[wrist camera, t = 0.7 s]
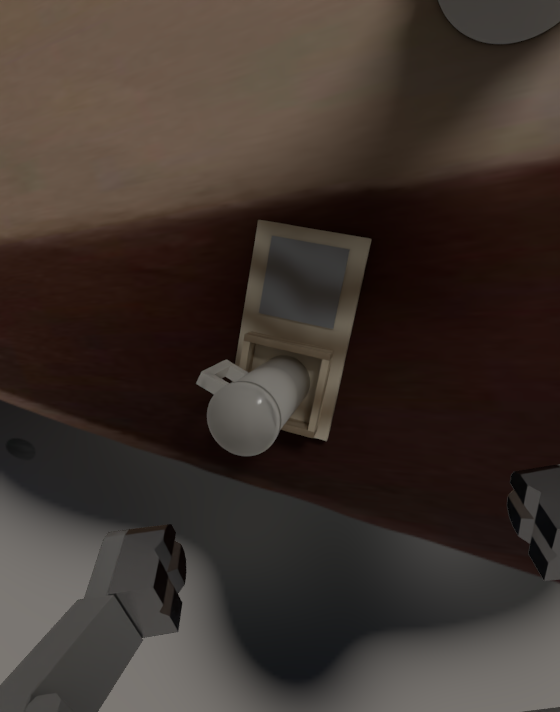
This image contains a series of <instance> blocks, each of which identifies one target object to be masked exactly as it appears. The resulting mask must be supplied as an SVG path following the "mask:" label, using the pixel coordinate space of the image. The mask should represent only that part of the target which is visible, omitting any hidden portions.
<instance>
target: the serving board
mask: <svg viewBox="0 0 560 712" xmlns="http://www.w3.org/2000/svg"><path fill="white" fill-rule="evenodd" d="M371 240H372V239H369V238H364V237H358V236H352V235H346V234H340V233H334V232H328V231H323V230H317V229H311V228H305V227H299V226H293V225H288V224H282V223H276V222H270V221H264V220H258V225H257V231H256V237H255V243H254V249H253V256H252V262H251V268H250V274H249V280H248V287H247V293H246V299H245V305H244V311H243V318H242V324H241V330H240V336H239V342H238V349H237V355H236V361H235V365H237V366H238V367H240V368H242V369H243V370H245V371H247V372H248V373H249V372H251V371H252V370H254V369H255V368H257V367H258V366H260V365H262V364H263V363H265V362H266V361H268V360H269V359H271V358H273V357H275V356H279V355H287V356H291V357H294V358H296V359H297V360H299V361H300V362H301V363H302V364H303V365H304V366H305V367H306V369H307V371H308V373H309V376H310V389H309V392H308V394H307V396H306V397H305V399H304V400H303V401H302V403H301V404H300V405H299V406H298V408H297V409H296V410H295V412H294V413H293V414H292V415H291V417H290V418H289V419H288V421H287V422H286V423H285V424H284V426H283V427H282V428H281V430H284V431H287V432H291V433H295V434H298V435H302V436H306V437H309V438H317V439H321V440H324V441H327V439H328V436H329V432H330V427H331V423H332V418H333V414H334V409H335V404H336V400H337V395H338V391H339V386H340V382H341V377H342V372H343V368H344V363H345V359H346V354H347V350H348V345H349V341H350V336H351V331H352V327H353V322H354V318H355V313H356V309H357V304H358V299H359V295H360V290H361V286H362V281H363V277H364V272H365V267H366V263H367V258H368V254H369V249H370V245H371ZM232 382H233V381H232Z"/></svg>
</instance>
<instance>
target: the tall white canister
mask: <svg viewBox="0 0 560 712" xmlns="http://www.w3.org/2000/svg"><path fill="white" fill-rule="evenodd" d="M224 377H227V378H228V379H230V380H232V381H233V382H232V383H228V382H226V381H224V380H223V379H222V378H224ZM196 384H197V385H199V386H201V387H202V388H204V389H206V390H207V391H209V392H211V393H212V394H214V396H213V397H212V399H211V400H210V403H209V405H208V409H207V423H208V427H209V430H210V432H211V434H212V436H213V438H214V439H215V440H216V442H217V443H218V444H219V445H220V446H221V447H222V448H224V449H225V450H227V451H229V452H230V453H233V454H235V455H239V456H254V455H258V454H260V453H262V452H264V451H265V450H267V449H268V448H269V447H270V446H271V445H272V444H273V442H274V441H275V440H276V438H277V436H278V434H279V432H280V430H281V428H282V427H283V426H284V424H285V423H286V422H287V421H288V419H289V418H290V417H291V415H292V414H293V413H294V412H295V410H296V409H297V408H298V406H299V405H300V404H301V403H302V401H303V400H304V399H305V397H306V396H307V394H308V392H309V389H310V376H309V373H308V371H307V369H306V367H305V366H304V365H303V364H302V363H301V362H300V361H299V360H297V359H296V358H294V357H291V356H287V355H279V356H275V357H273V358H271V359H269V360H268V361H266V362H265V363H263V364H262V365H260V366H258V367H257V368H255V369H254V370H252V371H251V372H249V373H248V372H247V371H245V370H243V369H242V368H240V367H238V366H237V365H235V364H233V363H231V362H230V361H228V360H224V361H222V362H220V363H218V364H216V365H214V366H212V367H210V368H208V369H206V370H204V371H202V372H201V374H200V376H199V378H198V380H197V382H196Z"/></svg>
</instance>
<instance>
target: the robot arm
mask: <svg viewBox="0 0 560 712" xmlns="http://www.w3.org/2000/svg"><path fill="white" fill-rule="evenodd" d="M438 2H439V5H440V7H441V9H442V11H443V13H444V15H445V16H446V18H447V19H448V20H449V22H450V23H451V24H452V25H453V26H454V27H455V28H456V29H457V30H459V31H460V32H461V33H463V34H464V35H466V36H468V37H470V38H472V39H474V40H477V41H480V42H484V43H490V44H509V43H515V42H520V41H524V40H527V39H530V38H532V37H535V36H537V35H539V34H541V33H543V32H545V31H547V30H548V29H550V28H552V27H553V26H555V25H556V24H557V23H559V22H560V0H438ZM510 484H511V485H512V487H513V488H514V490H513V491H512V492H511V493H510V494H509V495H508V500H507V508H508V513H509V518H510V520H511V523H512V525H513V527H514V529H515V531H516V533H517V535H518V536H519V537H520V538H522V539H523V540H525V541H527V542H528V543H530V547H529V553H528V554H529V556H530V557H531V559H532V561H533V563H534V564H535V566H536V568H537V570H538V571H539V573H540V575H541V576H542V578H543V580H544V581H548V580H557V579H560V464H559V465H550V466H544V467H538V468H532V469H526V470H519V471H514V472H513V474H512V475H511V479H510ZM175 534H176V532H175V530H174V529H173V527H172V525H171V524H169V525H161V526H153V527H145V528H136V529H129V530H122V531H114V532H109V533H108V534H107V535H106V537H105V538H104V540H103V543H102V545H101V549H100V552H99V555H98V558H97V561H96V564H95V567H94V570H93V573H92V576H91V579H90V582H89V585H88V588H87V591H86V594H85V597H84V599H80V600H77V601H76V603H74V605H73V606H72V607H71V608H70V609H69V610H68V611H67V612H66V613H65V614H64V616H63V617H62V618H61V619H60V620H59V621H58V622H57V623H56V625H54V627H53V628H52V629H51V630H50V631H49V632H48V633H47V634H46V635H45V636H44V638H43V639H42V640H41V641H40V642H39V643H38V644H37V645H36V646H35V647H34V649H33V650H32V651H31V652H30V653H29V654H28V655H27V656H26V657H25V658H24V660H23V661H22V662H21V663H20V664H19V665H18V666H17V667H16V668H15V670H14V671H13V672H12V673H11V674H10V675H9V676H8V677H7V678H6V679H5V681H4V682H3V683H2V684H1V685H0V712H98V711H99V709H100V707H101V706H102V704H103V703H104V701H105V700H106V698H107V696H108V695H109V693H110V692H111V690H112V688H113V687H114V685H115V684H116V682H117V680H118V679H119V677H120V676H121V674H122V673H123V671H124V669H125V668H126V666H127V665H128V663H129V661H130V660H131V658H132V657H133V655H134V653H135V652H136V650H137V649H138V647H139V646H140V644H141V642H142V641H143V639H142V638H145V637H151V636H156V635H163V634H169V633H174V632H178V629H179V622H180V616H181V608H182V601H181V600H180V597H179V595H178V593H179V591H180V590H181V589H182V587H183V586H184V585H185V579H186V558H185V553H184V550H183V548H182V545H181V544H180V543H178V542H176V541H175ZM525 712H560V707H557V708H549V709H541V710H533V711H525Z"/></svg>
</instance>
